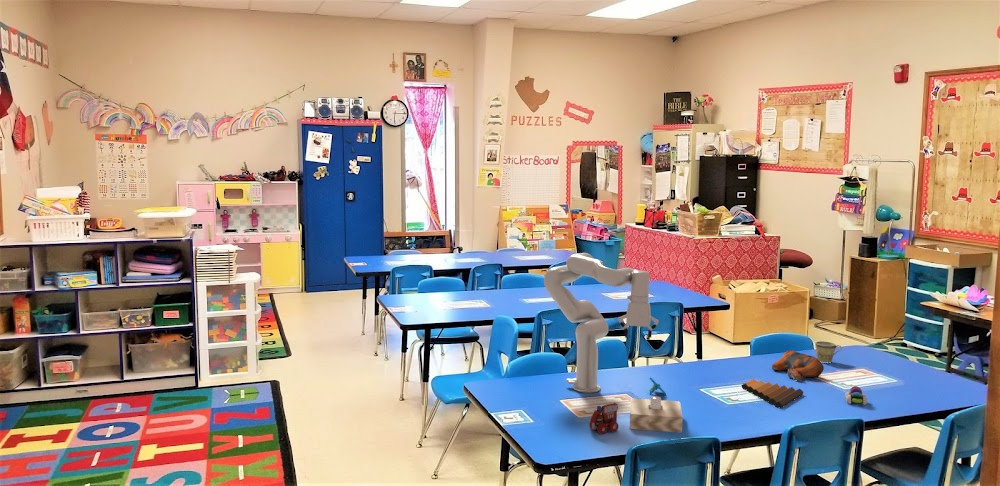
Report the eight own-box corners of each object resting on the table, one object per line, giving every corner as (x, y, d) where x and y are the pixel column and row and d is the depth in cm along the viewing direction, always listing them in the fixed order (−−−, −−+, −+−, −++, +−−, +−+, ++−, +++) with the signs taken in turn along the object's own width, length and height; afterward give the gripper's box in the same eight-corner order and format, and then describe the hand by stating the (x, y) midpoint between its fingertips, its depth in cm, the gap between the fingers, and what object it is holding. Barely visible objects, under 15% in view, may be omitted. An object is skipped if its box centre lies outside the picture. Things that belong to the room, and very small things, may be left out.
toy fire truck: (584, 430, 299) (585, 404, 298) (611, 425, 305) (612, 399, 304) (595, 436, 293) (595, 409, 292) (621, 431, 299) (622, 405, 298)
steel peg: (649, 423, 308) (650, 399, 307) (649, 419, 312) (650, 396, 311) (660, 424, 307) (661, 399, 306) (659, 420, 311) (660, 396, 310)
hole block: (629, 428, 301) (630, 413, 301) (630, 412, 321) (630, 398, 320) (681, 432, 298) (682, 417, 297) (679, 415, 317) (679, 401, 317)
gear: (668, 394, 340) (653, 378, 341) (659, 403, 340) (643, 387, 341) (665, 390, 351) (650, 374, 352) (656, 399, 351) (640, 383, 352)
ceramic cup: (816, 364, 400) (817, 345, 399) (812, 359, 410) (813, 340, 409) (843, 365, 398) (844, 346, 397) (837, 360, 408) (839, 342, 407)
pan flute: (781, 409, 329) (803, 396, 347) (782, 402, 328) (803, 389, 347) (726, 396, 345) (750, 384, 364) (727, 389, 345) (750, 377, 363)
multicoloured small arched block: (864, 400, 341) (866, 385, 340) (867, 407, 332) (868, 391, 331) (844, 398, 344) (845, 382, 343) (846, 405, 335) (847, 389, 334)
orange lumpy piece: (786, 362, 398) (760, 370, 391) (789, 340, 393) (763, 347, 386) (823, 387, 377) (795, 395, 370) (827, 364, 372) (799, 372, 365)
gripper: (618, 299, 328) (616, 338, 330) (660, 302, 325) (657, 341, 327) (619, 296, 336) (617, 334, 338) (659, 299, 332) (657, 337, 335)
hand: (637, 338), depth 333 cm, fingers open, 9 cm apart
